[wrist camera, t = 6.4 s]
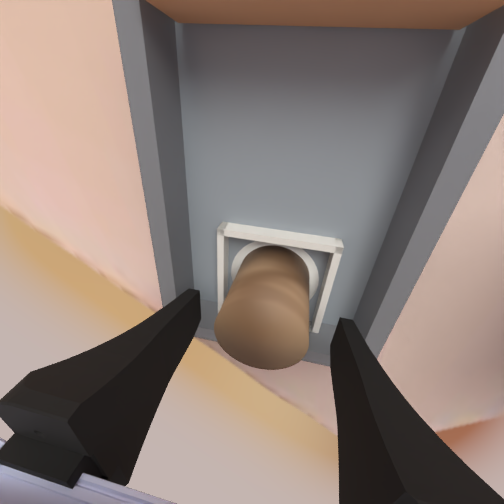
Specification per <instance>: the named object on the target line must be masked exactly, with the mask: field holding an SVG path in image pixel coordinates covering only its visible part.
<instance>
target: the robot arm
mask: <svg viewBox="0 0 504 504" xmlns="http://www.w3.org/2000/svg"><path fill="white" fill-rule="evenodd" d="M200 321H201V302H200V290H195V289H190V288H189V289H187V290H186V291H185V292H183V293H182V294H181V295H179V296H178V297H177V298H175V299H174V300H173V301H171V302H170V303H169V304H167V305H166V306H165V307H163V308H162V309H160V310H159V311H158V312H156V313H155V314H153V315H152V316H150V317H149V318H147V319H146V320H144V321H143V322H141V323H140V324H138V325H137V326H135V327H133V328H131V329H130V330H128V331H126V332H125V333H123V334H121V335H119V336H117V337H115V338H113V339H111V340H109V341H107V342H105V343H103V344H101V345H99V346H97V347H95V348H92V349H90V350H88V351H85V352H83V353H81V354H79V355H76V356H73V357H71V358H69V359H66V360H63V361H61V362H58V363H55V364H52V365H49V366H47V367H44V368H41V369H38V370H35V371H32V372H30V373H29V374H28V375H27V376H26V377H24V378H23V380H21V381H20V382H19V383H18V384H17V385H16V386H15V387H14V388H13V389H11V390H10V391H9V393H7V394H6V395H5V396H4V397H3V398H2V399H1V400H0V417H1V418H2V420H3V421H4V422H5V423H6V424H7V425H8V426H9V427H10V428H11V429H12V430H13V432H14V433H15V434H13V436H12V437H11V438H10V439H9V440H8V441H5V440H4V439H2V438H0V504H176V503H173V502H170V501H167V500H164V499H161V498H158V497H155V496H152V495H149V494H146V493H143V492H140V491H137V490H134V489H131V488H128V487H125V486H126V485H127V484H128V483H129V481H130V478H131V475H132V472H133V469H134V467H135V464H136V461H137V459H138V456H139V453H140V451H141V448H142V445H143V443H144V440H145V438H146V435H147V433H148V430H149V428H150V425H151V422H152V420H153V418H154V415H155V413H156V411H157V408H158V406H159V403H160V401H161V399H162V397H163V394H164V392H165V390H166V388H167V385H168V383H169V381H170V379H171V377H172V375H173V373H174V372H175V370H176V368H177V366H178V364H179V363H180V361H181V359H182V357H183V355H184V354H185V352H186V350H187V348H188V346H189V345H190V343H191V341H192V339H193V337H194V335H195V333H196V331H197V328H198V326H199V323H200ZM330 368H331V376H332V384H333V392H334V399H335V407H336V415H337V426H338V452H339V453H338V454H339V504H504V499H503V498H502V497H501V496H500V495H498V494H497V493H496V492H495V491H494V490H493V489H492V488H491V487H490V486H489V485H488V484H487V483H485V482H484V481H483V480H482V479H481V478H480V477H479V476H478V475H477V474H476V473H475V472H474V471H473V470H471V469H470V468H469V467H468V466H467V465H466V464H465V463H464V462H463V461H462V460H461V459H460V458H459V457H458V456H457V455H456V454H455V453H454V452H453V451H452V450H451V449H450V448H449V447H448V446H447V445H446V444H445V443H444V442H443V441H442V440H441V439H440V438H439V437H438V436H437V434H436V433H435V432H434V431H433V430H432V429H431V428H430V427H429V426H428V425H427V423H426V422H425V421H424V420H423V419H422V418H421V417H420V416H419V415H418V414H417V412H416V411H415V410H414V409H413V408H412V407H411V405H410V404H409V403H408V402H407V400H406V399H405V398H404V397H403V395H402V394H401V393H400V392H399V390H398V389H397V388H396V386H395V385H394V384H393V382H392V381H391V379H390V378H389V377H388V375H387V374H386V372H385V371H384V370H383V368H382V367H381V365H380V364H379V362H378V360H377V359H376V357H375V356H374V354H373V353H372V351H371V350H370V348H369V346H368V345H367V343H366V341H365V340H364V338H363V336H362V334H361V333H360V331H359V329H358V327H357V326H356V324H355V322H354V321H353V320H352V319H346V318H341V317H340V318H339V321H338V324H337V327H336V330H335V333H334V335H333V338H332V341H331V344H330Z"/></svg>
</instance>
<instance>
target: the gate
mask: <svg viewBox="0 0 504 504" xmlns="http://www.w3.org/2000/svg"><path fill="white" fill-rule="evenodd" d="M146 1H147V2H149V3H150V4H152V5H153V6H154V7H156V8H157V9H159V10H160V11H162V12H163V13H165V14H166V15H167V16H169V17H170V18H172V19H173V20H175V21H176V22H178V23H196V24H238V25H280V26H321V27H363V28H404V29H446V30H460V29H462V28H464V27H466V26H467V25H469V24H471V23H473V22H475V21H476V20H478V19H480V18H482V17H483V16H485V15H487V14H489V13H491V12H492V11H494V10H496V9H498V8H500V7H501V6H503V5H504V0H146Z"/></svg>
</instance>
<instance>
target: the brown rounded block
mask: <svg viewBox="0 0 504 504" xmlns="http://www.w3.org/2000/svg"><path fill="white" fill-rule="evenodd" d="M309 279H310V278H309V270H308V267H307V265H306V263H305V262H304V261H303V259H302V258H301V257H300V256H299V255H298V254H296V253H295V252H293V251H292V250H290V249H287V248H284V247H281V246H274V245H269V246H262V247H259V248H256V249H254V250H253V251H251V252H250V253H249V254H248V255H247V256H246V257H245V258H244V260H243V262H242V264H241V266H240V268H239V270H238V272H237V274H236V277H235V279H234V281H233V283H232V285H231V287H230V289H229V292H228V294H227V296H226V298H225V300H224V302H223V304H222V307H221V309H220V311H219V313H218V315H217V317H216V320H215V323H214V333H215V336H216V339H217V341H218V343H219V344H220V346H221V347H222V348H223V350H224V351H225V352H226V353H228V354H229V355H230V356H231V357H233V358H234V359H236V360H238V361H239V362H241V363H243V364H246V365H248V366H251V367H255V368H260V369H267V370H276V369H283V368H287V367H290V366H292V365H295V364H296V363H298V362H299V361H300V360H302V358H303V357H304V356H305V355H306V353H307V350H308V347H309Z"/></svg>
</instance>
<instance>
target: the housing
mask: <svg viewBox="0 0 504 504" xmlns="http://www.w3.org/2000/svg"><path fill="white" fill-rule="evenodd" d="M112 3H113V9H114V15H115V21H116V27H117V33H118V40H119V46H120V52H121V58H122V64H123V70H124V76H125V82H126V88H127V94H128V100H129V106H130V112H131V118H132V124H133V130H134V136H135V142H136V148H137V154H138V160H139V166H140V172H141V178H142V184H143V190H144V196H145V202H146V208H147V214H148V220H149V226H150V232H151V238H152V244H153V250H154V257H155V263H156V269H157V275H158V281H159V287H160V293H161V299H162V305H163V307H165V306H166V305H167V304H169V303H170V302H171V301H173V300H174V299H175V298H177V297H178V296H179V295H181V294H182V293H183V292H185V291H186V290H187V289H189V288H190V289H195V290H200V302H201V321H200V323H199V326H198V328H197V331H196V333H195V335H194V337H198V338H203V339H208V340H212V341H217V339H216V336H215V333H214V323H215V320H216V317H217V315H218V313H219V311H220V309H221V307H222V304H223V302H224V300H225V298H226V296H227V294H228V292H229V289H230V287H231V285H232V283H233V281H234V279H235V277H236V274H237V272H238V270H239V268H240V266H241V264H242V262H243V260H244V258H245V257H246V256H247V255H248V254H249V253H250V252H251V251H253V250H254V249H256V248H259V247H262V246H269V245H274V246H281V247H284V248H287V249H290V250H292V251H293V252H295V253H296V254H298V255H299V256H300V257H301V258H302V259H303V261H304V262H305V263H306V265H307V267H308V270H309V278H310V279H309V347H308V350H307V353H306V355H305V356H304V357H303V358H302V360H303V361H307V362H312V363H316V364H321V365H325V366H330V344H331V341H332V338H333V335H334V333H335V330H336V327H337V324H338V321H339V318H340V317H341V318H346V319H352V320H353V321H354V322H355V324H356V326H357V327H358V329H359V331H360V333H361V334H362V336H363V338H364V340H365V341H366V343H367V345H368V346H369V348H370V350H371V351H372V353H373V354H374V356H375V357H376V359H377V357H378V356H379V354H380V352H381V350H382V348H383V346H384V344H385V342H386V340H387V338H388V336H389V334H390V332H391V330H392V328H393V327H394V325H395V323H396V321H397V319H398V317H399V315H400V313H401V311H402V309H403V307H404V305H405V303H406V301H407V300H408V298H409V296H410V294H411V292H412V290H413V288H414V286H415V284H416V282H417V280H418V278H419V276H420V274H421V272H422V271H423V269H424V267H425V265H426V263H427V261H428V259H429V257H430V255H431V253H432V251H433V249H434V247H435V245H436V244H437V242H438V240H439V238H440V236H441V234H442V232H443V230H444V228H445V226H446V224H447V222H448V220H449V218H450V217H451V215H452V213H453V211H454V209H455V207H456V205H457V203H458V201H459V199H460V197H461V195H462V193H463V191H464V189H465V188H466V186H467V184H468V182H469V180H470V178H471V176H472V174H473V172H474V170H475V168H476V166H477V164H478V162H479V161H480V159H481V157H482V155H483V153H484V151H485V149H486V147H487V145H488V143H489V141H490V139H491V137H492V135H493V133H494V132H495V130H496V128H497V126H498V124H499V122H500V120H501V118H502V116H503V114H504V5H503V6H501V7H500V8H498V9H496V10H494V11H492V12H491V13H489V14H487V15H485V16H483V17H482V18H480V19H478V20H476V21H475V22H473V23H471V24H469V25H467V26H466V27H464V28H462V29H460V30H446V29H404V28H363V27H321V26H280V25H238V24H196V23H178V22H176V21H175V20H173V19H172V18H170V17H169V16H167V15H166V14H165V13H163V12H162V11H160V10H159V9H157V8H156V7H154V6H153V5H152V4H150V3H149V2H147V1H146V0H112ZM217 342H218V341H217Z"/></svg>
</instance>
